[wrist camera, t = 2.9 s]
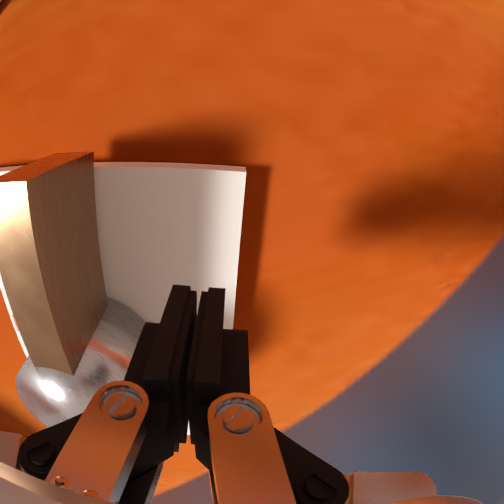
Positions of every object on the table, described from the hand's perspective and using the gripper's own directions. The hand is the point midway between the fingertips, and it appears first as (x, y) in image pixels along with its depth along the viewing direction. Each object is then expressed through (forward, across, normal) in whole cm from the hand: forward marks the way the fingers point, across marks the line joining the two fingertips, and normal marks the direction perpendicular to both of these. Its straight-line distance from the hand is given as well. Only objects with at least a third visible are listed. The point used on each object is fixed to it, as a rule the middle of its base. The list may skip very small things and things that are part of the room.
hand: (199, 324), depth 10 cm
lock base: (+9, +8, +8) cm, 15 cm away
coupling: (+7, +8, +4) cm, 11 cm away
